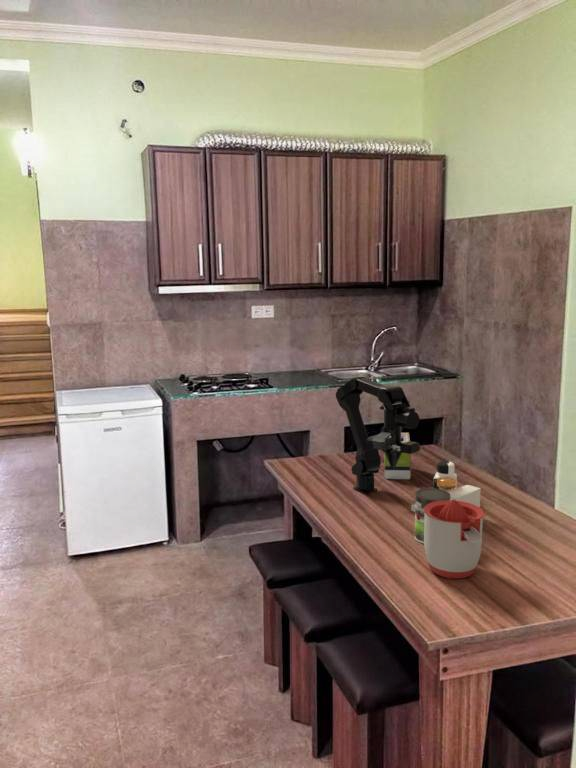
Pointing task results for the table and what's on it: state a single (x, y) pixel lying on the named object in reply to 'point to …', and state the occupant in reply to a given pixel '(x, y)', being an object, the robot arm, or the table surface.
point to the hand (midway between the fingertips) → (392, 468)
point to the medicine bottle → (444, 472)
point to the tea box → (399, 464)
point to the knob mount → (463, 495)
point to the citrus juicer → (453, 537)
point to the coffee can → (421, 501)
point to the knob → (446, 483)
